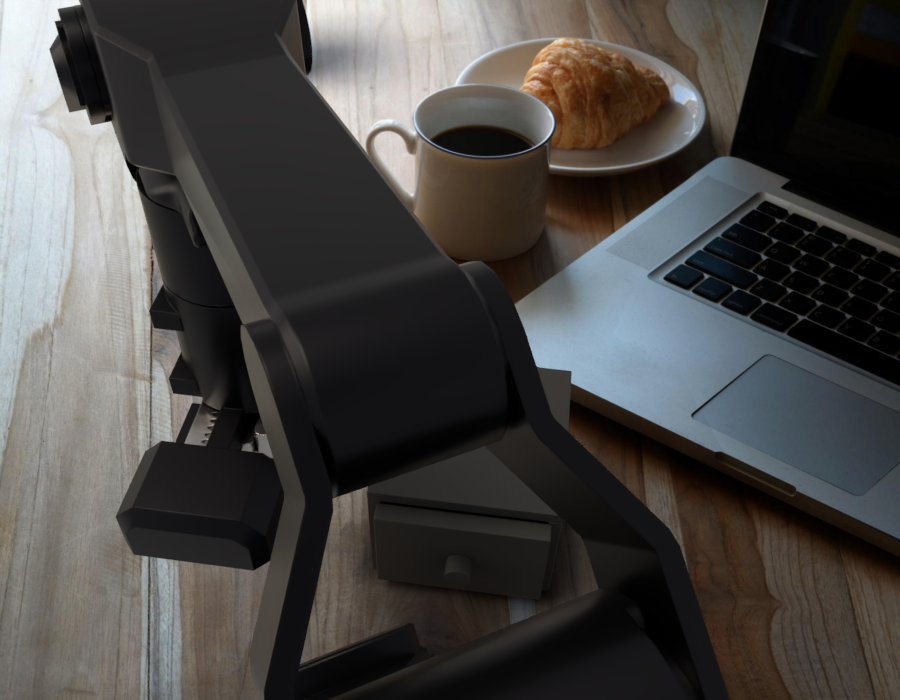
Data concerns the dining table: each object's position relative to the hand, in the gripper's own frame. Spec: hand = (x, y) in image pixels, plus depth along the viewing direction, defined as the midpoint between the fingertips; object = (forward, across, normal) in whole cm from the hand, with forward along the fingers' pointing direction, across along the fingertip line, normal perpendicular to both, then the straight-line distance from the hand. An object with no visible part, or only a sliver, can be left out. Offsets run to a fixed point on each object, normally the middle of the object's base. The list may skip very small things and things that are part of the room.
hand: (273, 483), depth 50 cm
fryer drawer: (+12, +7, -10) cm, 17 cm away
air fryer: (+13, +9, -10) cm, 19 cm away
